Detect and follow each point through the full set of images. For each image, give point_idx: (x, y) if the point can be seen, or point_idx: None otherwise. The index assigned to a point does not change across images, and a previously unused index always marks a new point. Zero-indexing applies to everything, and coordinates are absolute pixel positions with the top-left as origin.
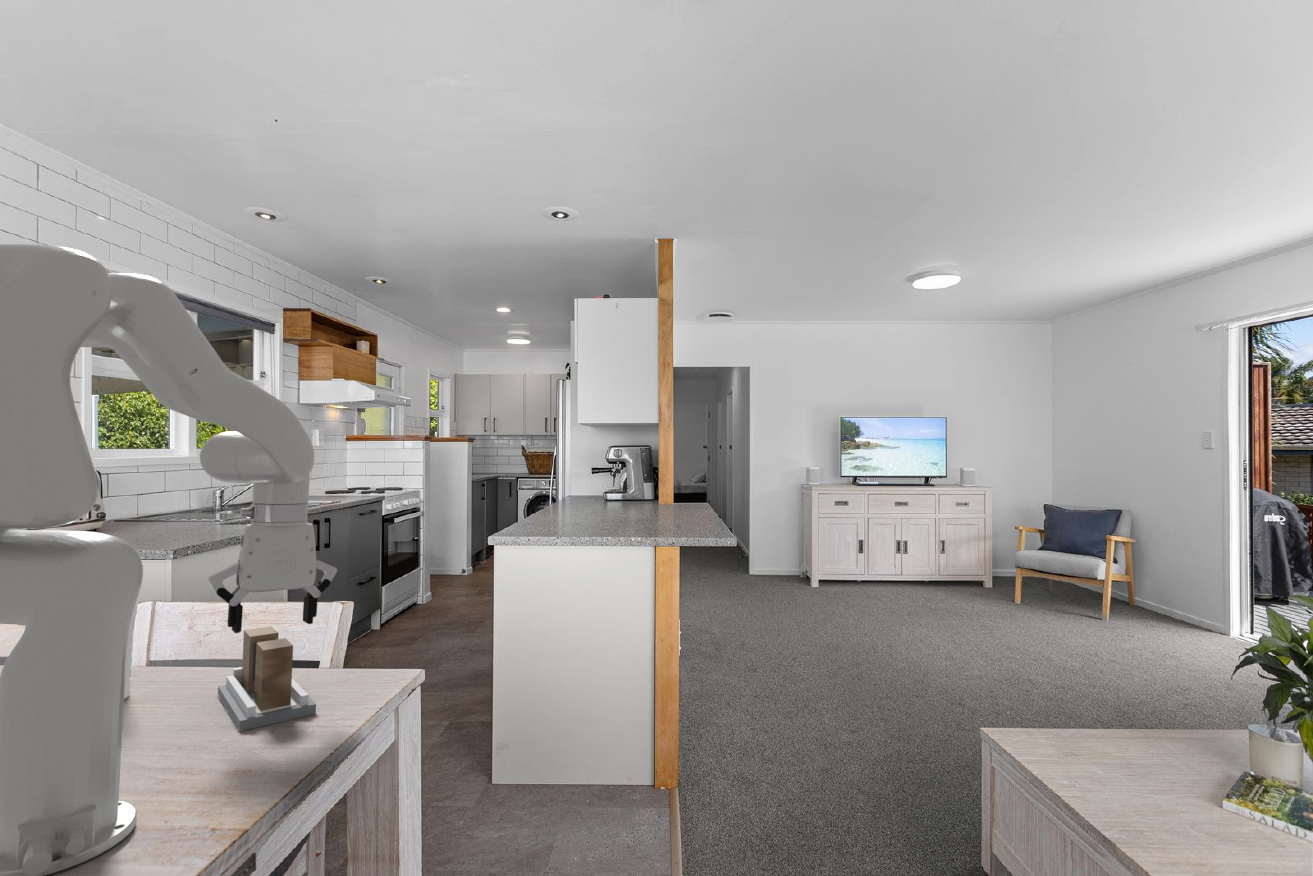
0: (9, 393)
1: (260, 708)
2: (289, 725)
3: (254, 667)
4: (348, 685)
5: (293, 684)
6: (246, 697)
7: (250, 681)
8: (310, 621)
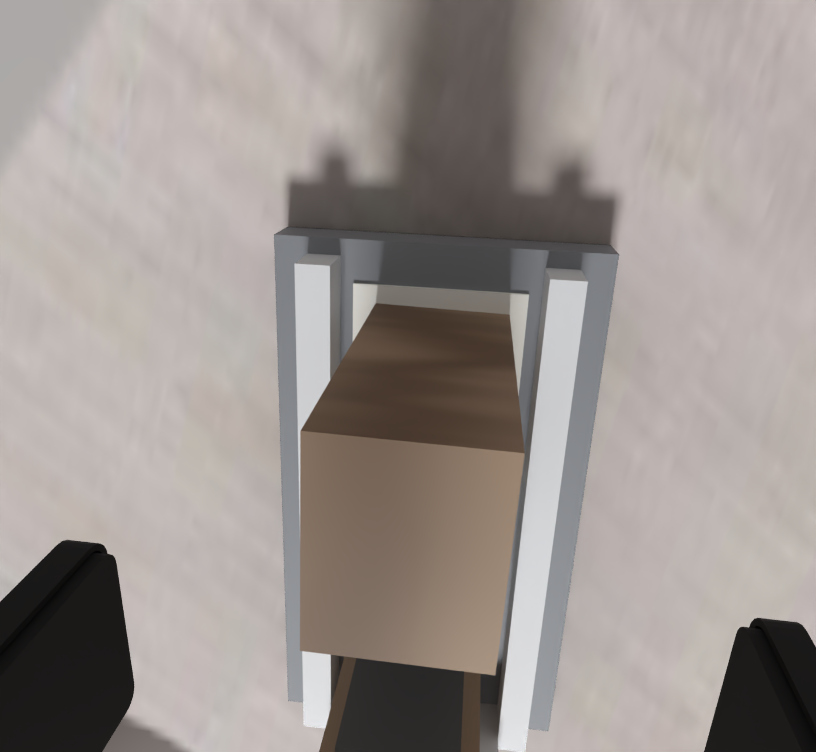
0: None
1: (509, 319)
2: (418, 167)
3: None
4: (92, 478)
5: None
6: (544, 436)
7: None
8: (76, 552)
